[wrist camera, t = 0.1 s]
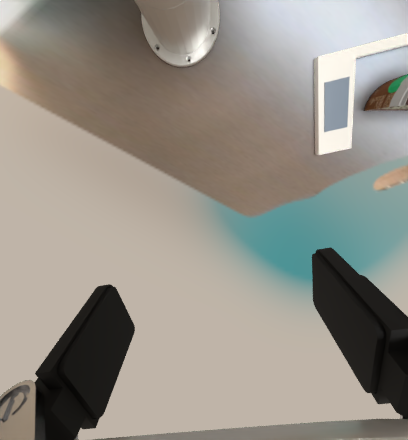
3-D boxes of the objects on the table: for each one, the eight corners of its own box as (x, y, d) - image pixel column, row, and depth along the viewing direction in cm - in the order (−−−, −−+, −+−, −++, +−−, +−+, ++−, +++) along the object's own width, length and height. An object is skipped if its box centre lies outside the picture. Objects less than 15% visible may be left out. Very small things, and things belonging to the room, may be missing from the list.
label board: (314, 59, 36) (318, 56, 34) (498, 10, 33) (512, 4, 31) (315, 154, 42) (319, 155, 40) (470, 120, 39) (481, 120, 37)
